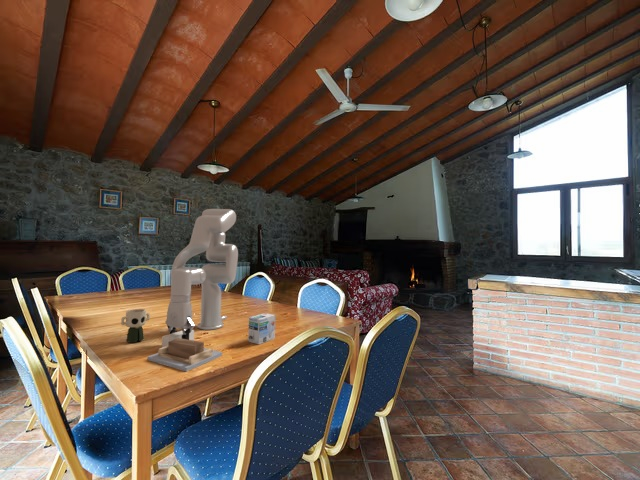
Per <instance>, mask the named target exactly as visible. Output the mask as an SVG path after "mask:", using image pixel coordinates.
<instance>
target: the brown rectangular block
mask: <svg viewBox="0 0 640 480" xmlns="http://www.w3.org/2000/svg"><path fill="white" fill-rule="evenodd" d="M204 348H205V342H204V341H199V340H194V341H193V340H187V339H181V338H177V339H174V340H172V341H169V342H168V354H169V355H172V356H176V357H180V358H184V359H189V357H190V356H193V355H195V354H198V353H200V352H203V351H204Z"/></svg>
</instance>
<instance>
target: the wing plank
mask: <svg viewBox="0 0 640 480" xmlns="http://www.w3.org/2000/svg"><path fill="white" fill-rule="evenodd" d="M185 330H187V328H185ZM182 335H183V331H182V330H180V331H177V332H176V333H172V334H170V333H169V334H166V335H162V338H161V348H163V347H166V346H168V342H169V341H172V340H174V339H177V338H181V339H182ZM189 340H193V341H195V330H194V329H192V331H191V333H189Z"/></svg>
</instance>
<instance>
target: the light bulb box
mask: <svg viewBox="0 0 640 480" xmlns="http://www.w3.org/2000/svg"><path fill="white" fill-rule="evenodd" d="M247 337H248V340H247V341H248V343H252V344H257V345H262V344H265V343H266V342H269V341H272V340H275V338H276V314H271V313H268V312H264V313H260V314H257V315H252V316H249V317H248V335H247Z"/></svg>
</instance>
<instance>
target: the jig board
mask: <svg viewBox="0 0 640 480" xmlns="http://www.w3.org/2000/svg"><path fill="white" fill-rule="evenodd" d="M208 349H209V348H206V347H204V351H205V350H208ZM222 356H223V352H222V351H219V350H218V351H217V350H214V349H213V355H212V356H211V357H209V358H207V359H204V360H202V361H200V362H197V363H195V364H193V365H189V364H186V363H182V362H178V361H175V360H171V359H168V358H164V357H161V356H158V352H157V353H154V354H151V355H148V356H147V361H150V362H153V363H156V364H160V365H164V366H167V367H170V368H174V369H177V370H180V371H183V372H189V371H191V370H194V369H196V368H198V367H200V366H202V365H205V364H206V363H210V362H211V361H213V360H216V359H218V358H220V357H222ZM183 359H184V358H183ZM187 360H189V359H187Z"/></svg>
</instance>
